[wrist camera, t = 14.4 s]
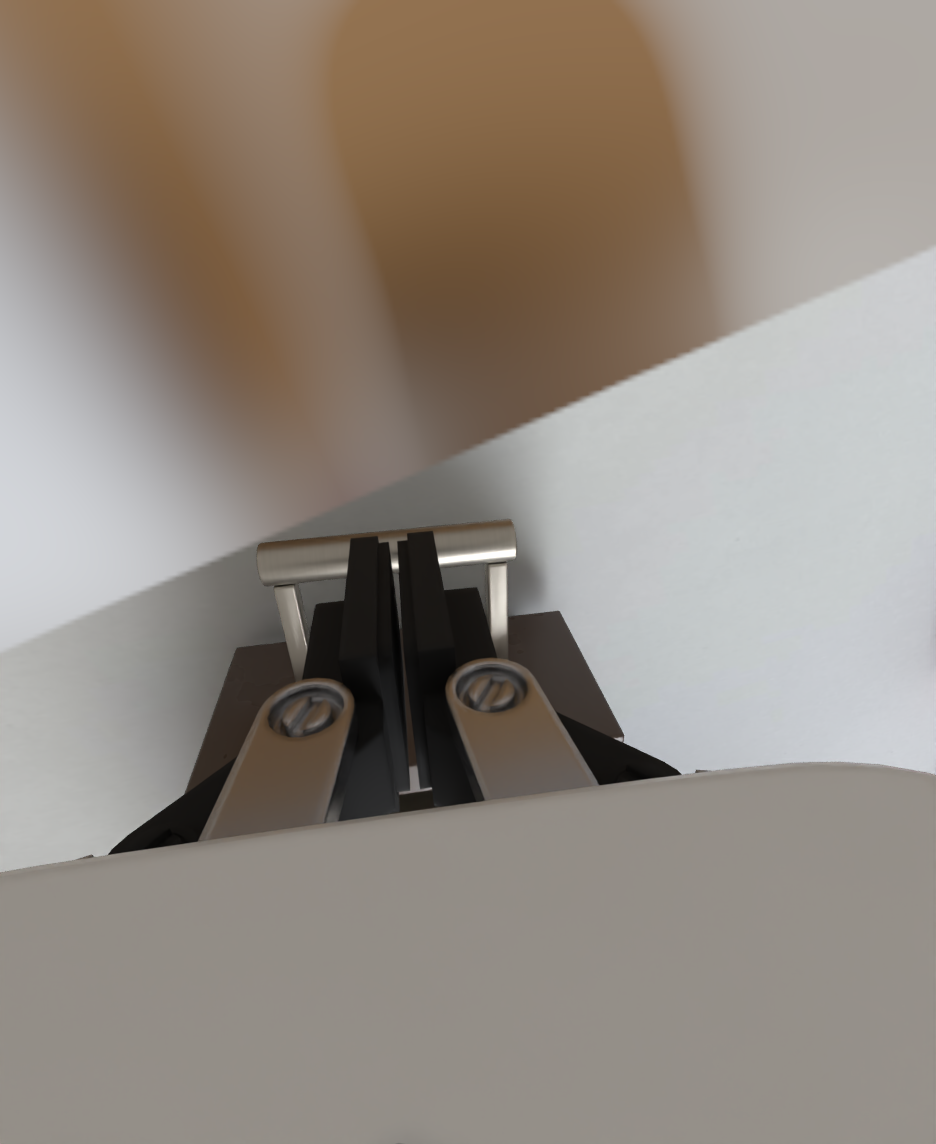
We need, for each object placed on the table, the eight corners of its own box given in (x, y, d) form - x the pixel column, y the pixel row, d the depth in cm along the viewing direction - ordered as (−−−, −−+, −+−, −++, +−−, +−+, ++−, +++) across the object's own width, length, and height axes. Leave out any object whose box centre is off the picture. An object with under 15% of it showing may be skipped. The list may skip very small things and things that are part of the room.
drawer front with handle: (192, 501, 18) (106, 617, 12) (566, 468, 20) (648, 559, 14) (301, 870, 28) (282, 1035, 22) (549, 831, 29) (594, 977, 23)
